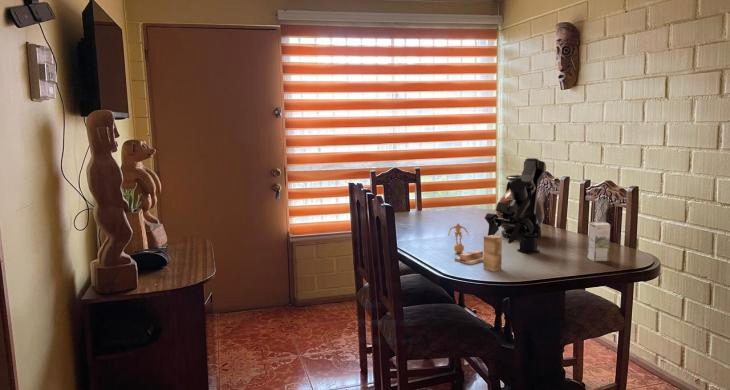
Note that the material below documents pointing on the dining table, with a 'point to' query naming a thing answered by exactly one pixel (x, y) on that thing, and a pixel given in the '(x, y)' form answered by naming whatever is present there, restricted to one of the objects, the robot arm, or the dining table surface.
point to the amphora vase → (508, 199)
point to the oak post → (492, 252)
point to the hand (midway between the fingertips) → (498, 241)
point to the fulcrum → (471, 257)
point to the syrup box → (598, 241)
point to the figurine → (458, 246)
